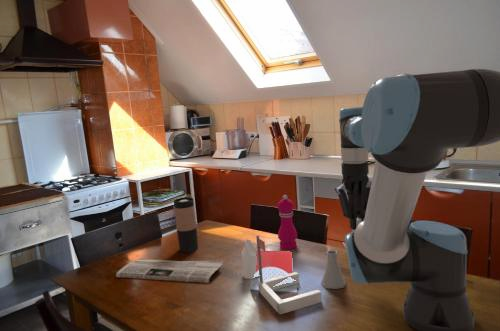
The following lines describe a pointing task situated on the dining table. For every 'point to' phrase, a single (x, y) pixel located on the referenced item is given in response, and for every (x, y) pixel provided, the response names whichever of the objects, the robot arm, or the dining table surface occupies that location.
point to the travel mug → (186, 224)
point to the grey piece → (249, 259)
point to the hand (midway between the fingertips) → (357, 238)
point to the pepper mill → (286, 224)
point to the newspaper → (171, 270)
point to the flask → (333, 272)
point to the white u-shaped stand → (272, 297)
